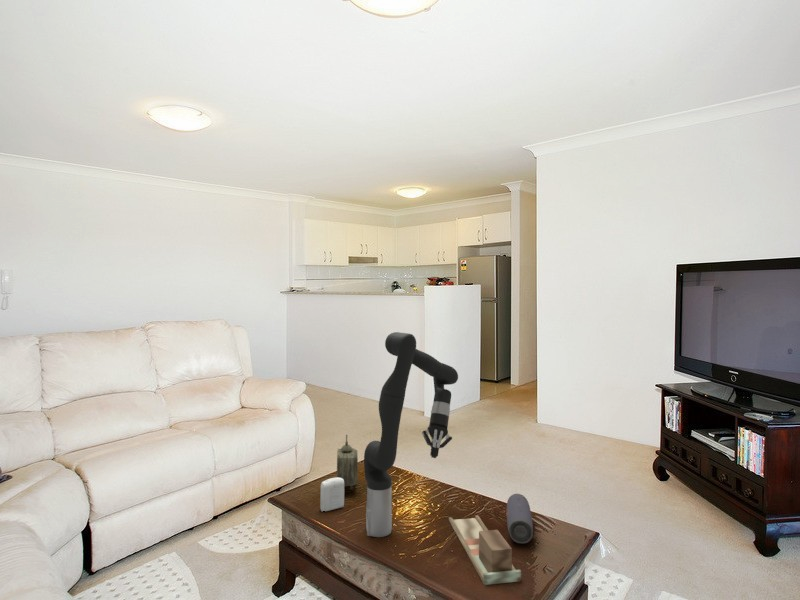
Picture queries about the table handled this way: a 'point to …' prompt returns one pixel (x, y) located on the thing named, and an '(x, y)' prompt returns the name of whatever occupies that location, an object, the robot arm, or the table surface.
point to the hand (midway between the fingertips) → (433, 457)
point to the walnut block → (494, 551)
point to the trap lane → (470, 541)
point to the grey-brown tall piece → (347, 465)
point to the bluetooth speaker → (519, 519)
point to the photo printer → (332, 494)
